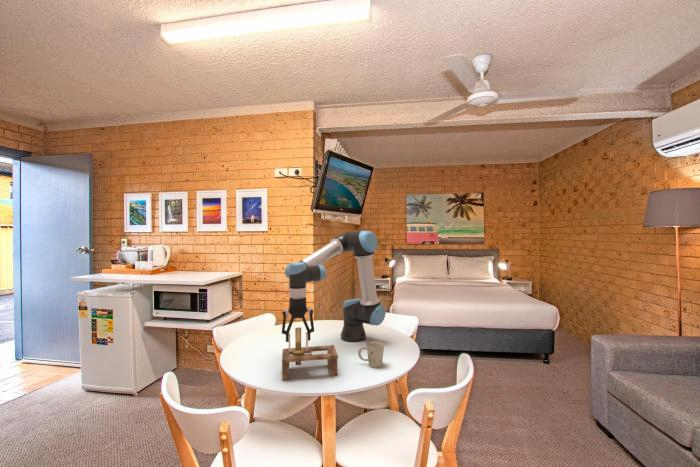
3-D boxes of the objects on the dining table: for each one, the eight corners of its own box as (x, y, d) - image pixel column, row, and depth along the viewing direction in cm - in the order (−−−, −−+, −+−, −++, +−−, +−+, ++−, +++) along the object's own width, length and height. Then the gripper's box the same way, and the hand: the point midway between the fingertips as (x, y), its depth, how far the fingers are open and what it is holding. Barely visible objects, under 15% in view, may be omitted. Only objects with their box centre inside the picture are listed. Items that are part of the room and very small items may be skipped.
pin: (304, 361, 149) (304, 326, 149) (305, 366, 143) (305, 329, 143) (291, 362, 148) (291, 326, 148) (291, 367, 142) (291, 330, 142)
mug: (383, 369, 148) (383, 347, 148) (356, 367, 151) (356, 345, 151) (385, 362, 156) (384, 341, 157) (359, 360, 159) (359, 340, 159)
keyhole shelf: (333, 363, 155) (333, 345, 156) (338, 376, 142) (338, 355, 142) (282, 368, 151) (282, 348, 151) (282, 381, 137) (282, 359, 137)
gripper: (319, 294, 151) (319, 344, 151) (275, 296, 148) (275, 347, 147) (320, 297, 144) (321, 349, 144) (274, 299, 140) (275, 353, 140)
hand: (298, 348), depth 145 cm, fingers open, 7 cm apart
